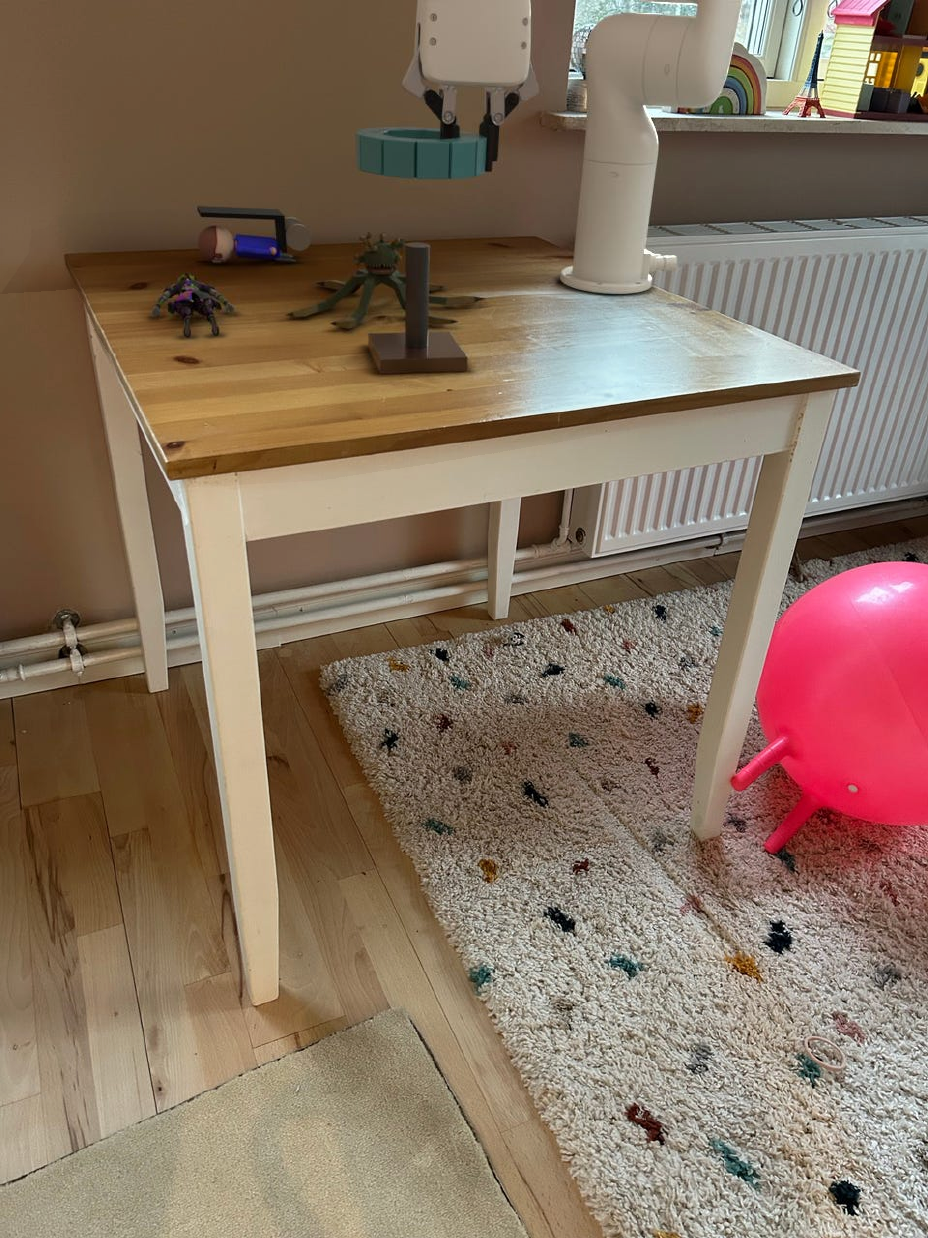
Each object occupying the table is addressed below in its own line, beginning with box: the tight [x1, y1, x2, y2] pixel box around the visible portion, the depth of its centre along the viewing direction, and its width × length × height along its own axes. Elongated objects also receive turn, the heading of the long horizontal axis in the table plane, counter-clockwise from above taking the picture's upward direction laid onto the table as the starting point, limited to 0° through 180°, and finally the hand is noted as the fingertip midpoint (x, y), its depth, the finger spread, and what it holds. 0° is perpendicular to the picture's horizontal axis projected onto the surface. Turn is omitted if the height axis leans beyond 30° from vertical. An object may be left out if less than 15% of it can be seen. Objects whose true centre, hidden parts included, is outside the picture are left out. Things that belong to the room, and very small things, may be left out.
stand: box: [367, 241, 469, 375], centre depth 98 cm, size 9×9×12 cm
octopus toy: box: [285, 231, 487, 330], centre depth 115 cm, size 25×20×9 cm
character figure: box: [151, 272, 236, 339], centre depth 110 cm, size 9×4×16 cm
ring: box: [355, 126, 487, 180], centre depth 90 cm, size 12×12×3 cm
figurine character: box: [196, 205, 313, 264], centre depth 133 cm, size 7×8×15 cm
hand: (468, 167), depth 92 cm, fingers closed on ring, 2 cm apart
